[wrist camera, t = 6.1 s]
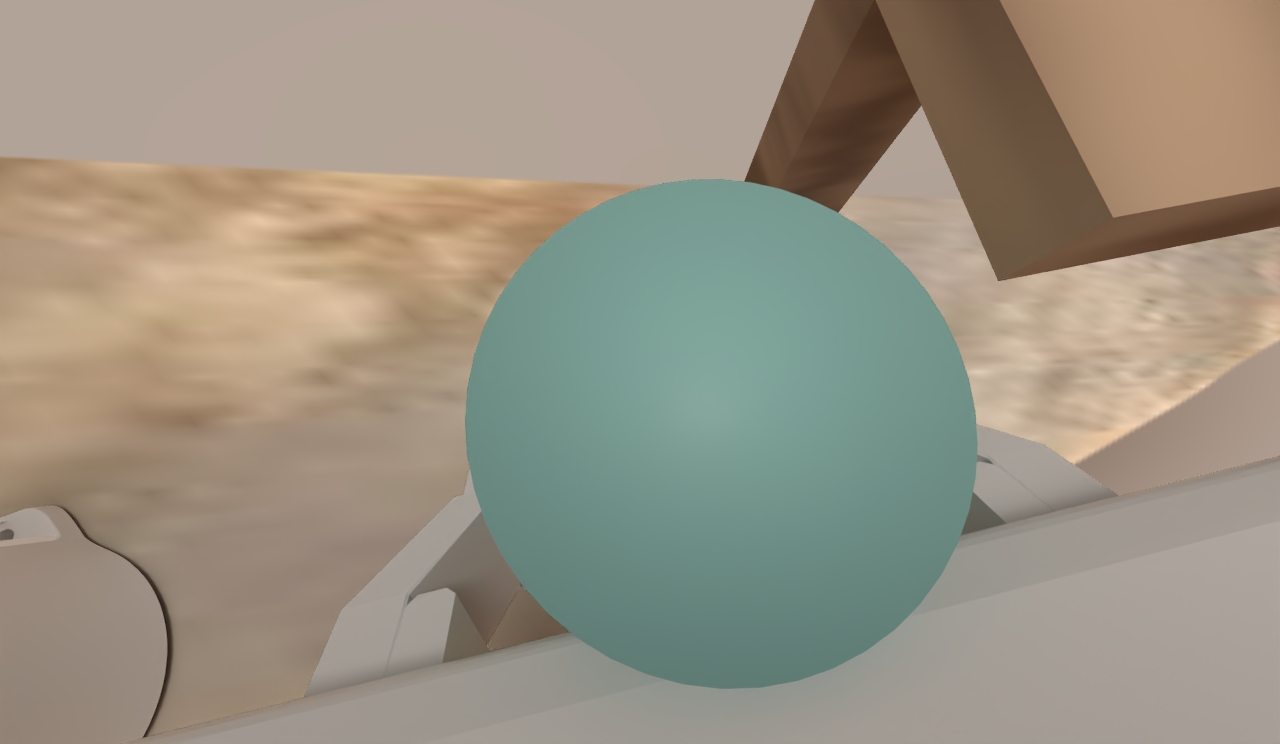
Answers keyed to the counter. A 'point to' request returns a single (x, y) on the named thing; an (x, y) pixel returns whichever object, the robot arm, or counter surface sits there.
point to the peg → (721, 434)
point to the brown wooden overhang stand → (1046, 117)
